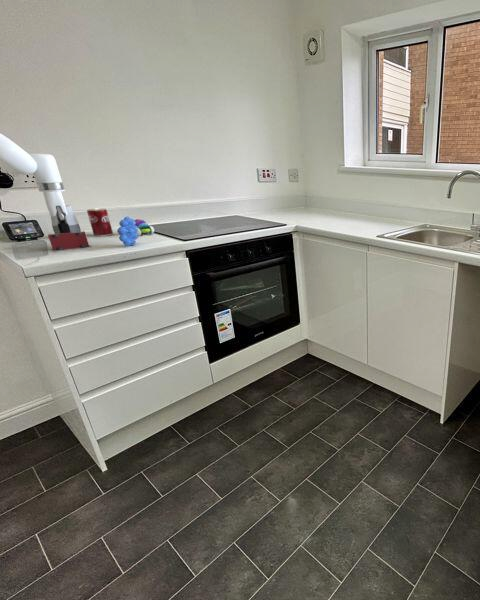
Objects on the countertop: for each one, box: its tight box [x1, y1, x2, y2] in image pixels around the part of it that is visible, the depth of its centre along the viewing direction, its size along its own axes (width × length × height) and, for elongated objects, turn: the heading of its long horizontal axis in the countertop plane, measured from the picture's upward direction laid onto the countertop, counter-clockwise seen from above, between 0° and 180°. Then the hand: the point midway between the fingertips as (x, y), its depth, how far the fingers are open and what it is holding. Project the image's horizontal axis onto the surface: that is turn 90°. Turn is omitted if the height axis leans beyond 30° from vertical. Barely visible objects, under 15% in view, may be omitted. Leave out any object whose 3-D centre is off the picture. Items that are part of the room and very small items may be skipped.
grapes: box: [116, 216, 139, 247], centre depth 148 cm, size 12×7×12 cm, turn 7°
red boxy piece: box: [47, 230, 90, 251], centre depth 142 cm, size 11×5×6 cm, turn 137°
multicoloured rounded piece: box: [134, 218, 155, 237], centre depth 171 cm, size 8×10×7 cm
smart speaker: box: [50, 204, 82, 234], centre depth 159 cm, size 10×9×14 cm
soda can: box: [86, 208, 114, 237], centre depth 165 cm, size 7×7×12 cm
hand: (65, 233), depth 145 cm, fingers closed
